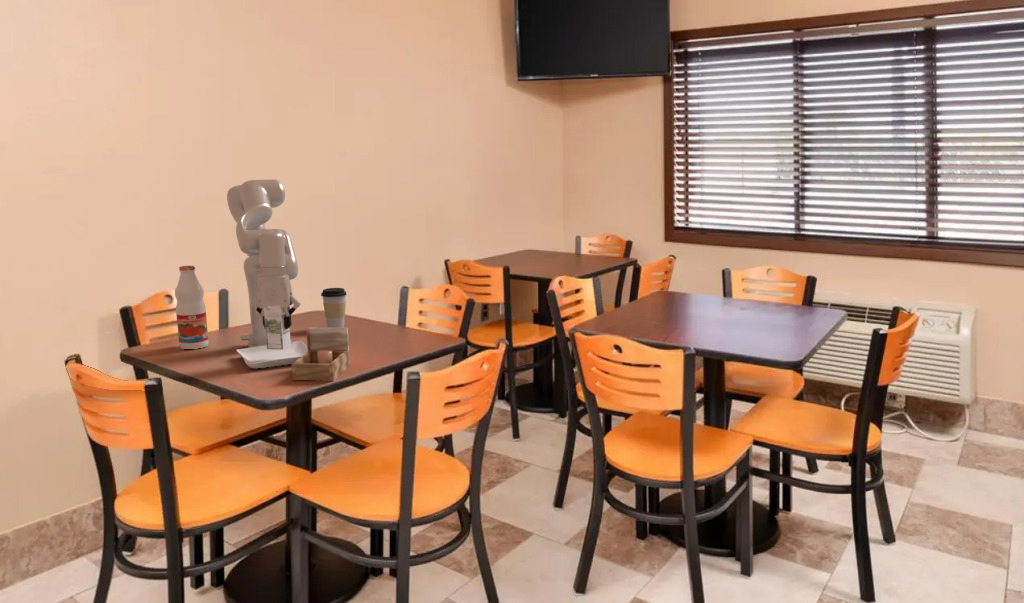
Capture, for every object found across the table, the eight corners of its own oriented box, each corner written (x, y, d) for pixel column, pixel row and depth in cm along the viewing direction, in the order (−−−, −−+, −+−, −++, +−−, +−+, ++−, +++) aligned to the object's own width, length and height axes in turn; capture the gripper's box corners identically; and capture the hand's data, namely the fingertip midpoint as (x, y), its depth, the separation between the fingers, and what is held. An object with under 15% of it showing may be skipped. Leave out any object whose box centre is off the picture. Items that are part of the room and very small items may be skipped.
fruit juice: (209, 342, 273) (202, 263, 268) (208, 348, 264) (201, 267, 259) (180, 345, 270) (172, 265, 265) (178, 351, 261) (170, 269, 256)
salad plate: (247, 373, 234) (246, 362, 233) (236, 358, 252) (235, 348, 252) (317, 364, 244) (317, 353, 243) (301, 350, 262) (301, 340, 261)
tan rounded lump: (316, 371, 233) (315, 352, 232) (321, 368, 238) (319, 349, 237) (330, 372, 233) (329, 352, 232) (335, 368, 237) (334, 349, 236)
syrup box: (291, 345, 248) (288, 301, 246) (283, 350, 243) (279, 304, 240) (274, 345, 249) (271, 300, 246) (266, 349, 244) (262, 304, 241)
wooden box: (333, 381, 223) (331, 340, 221) (291, 381, 224) (288, 340, 222) (349, 365, 240) (347, 327, 238) (310, 365, 241) (307, 327, 239)
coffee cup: (345, 331, 288) (343, 291, 285) (320, 331, 288) (317, 291, 285) (351, 325, 297) (348, 287, 294) (326, 326, 297) (324, 287, 294)
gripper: (241, 273, 238) (246, 330, 242) (296, 273, 237) (300, 330, 240) (251, 269, 246) (255, 325, 249) (304, 269, 244) (308, 325, 248)
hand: (277, 327), depth 245 cm, fingers closed on syrup box, 5 cm apart
